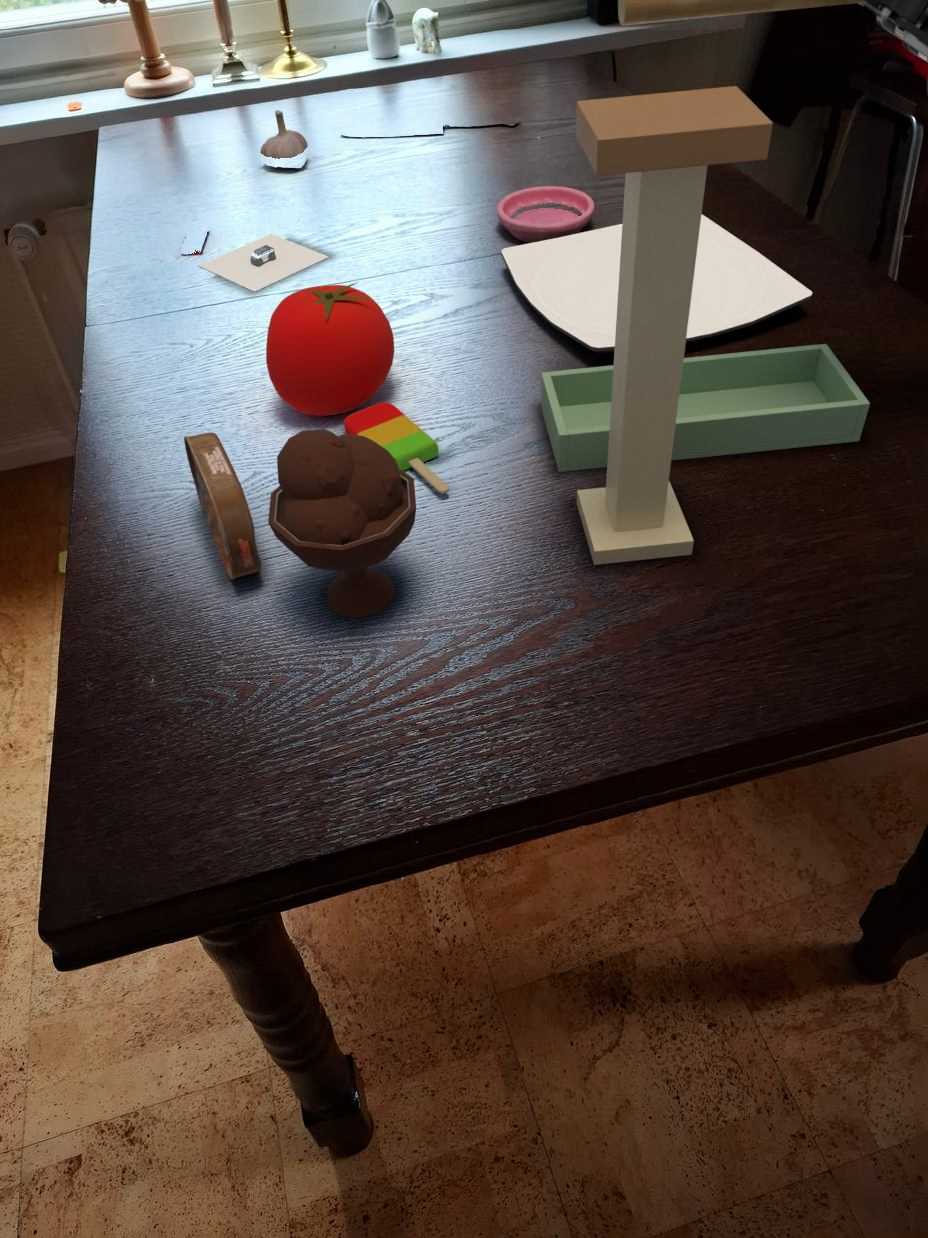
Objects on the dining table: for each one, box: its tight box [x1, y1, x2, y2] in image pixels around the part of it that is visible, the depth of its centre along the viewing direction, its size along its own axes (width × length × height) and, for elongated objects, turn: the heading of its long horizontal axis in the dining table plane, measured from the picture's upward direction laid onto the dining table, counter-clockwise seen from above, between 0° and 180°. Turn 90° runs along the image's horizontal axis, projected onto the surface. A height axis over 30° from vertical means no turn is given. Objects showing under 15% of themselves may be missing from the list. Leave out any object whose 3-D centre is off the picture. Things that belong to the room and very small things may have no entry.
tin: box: [183, 432, 262, 580], centre depth 76 cm, size 15×3×8 cm, turn 24°
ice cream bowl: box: [267, 428, 417, 619], centre depth 68 cm, size 11×11×15 cm
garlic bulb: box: [260, 109, 309, 159], centre depth 138 cm, size 8×7×8 cm
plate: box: [500, 213, 813, 354], centre depth 105 cm, size 29×29×3 cm
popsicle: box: [343, 401, 450, 494], centre depth 85 cm, size 6×15×2 cm, turn 33°
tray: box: [540, 343, 871, 473], centre depth 85 cm, size 28×11×4 cm, turn 95°
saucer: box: [496, 185, 595, 243], centre depth 119 cm, size 12×12×3 cm
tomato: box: [265, 281, 395, 417], centre depth 90 cm, size 12×14×11 cm
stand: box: [575, 85, 774, 566], centre depth 65 cm, size 10×8×32 cm
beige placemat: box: [198, 233, 330, 292], centre depth 117 cm, size 12×12×2 cm
